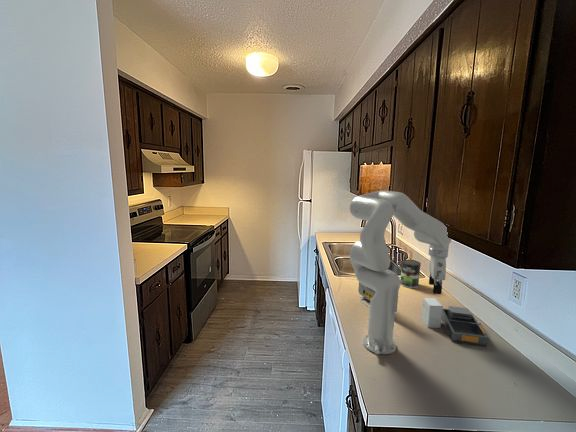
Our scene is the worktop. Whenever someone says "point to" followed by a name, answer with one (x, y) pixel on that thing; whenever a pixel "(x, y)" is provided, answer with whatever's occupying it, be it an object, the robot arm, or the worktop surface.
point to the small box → (432, 312)
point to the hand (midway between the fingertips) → (434, 289)
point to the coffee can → (410, 273)
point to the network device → (369, 295)
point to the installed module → (459, 314)
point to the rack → (465, 331)
